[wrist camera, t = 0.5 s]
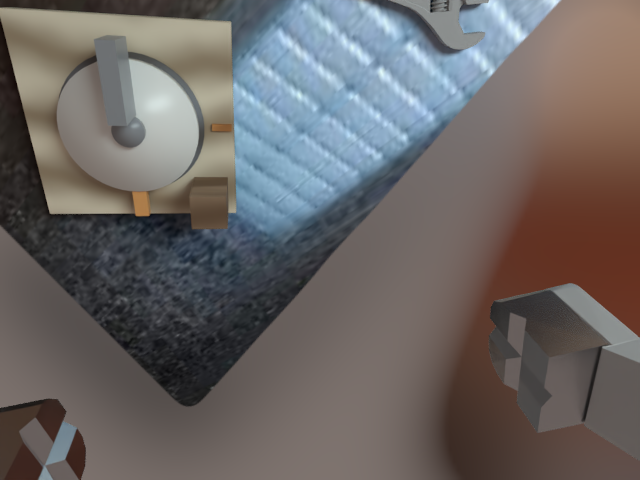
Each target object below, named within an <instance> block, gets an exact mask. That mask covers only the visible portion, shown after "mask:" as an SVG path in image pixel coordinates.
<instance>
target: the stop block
mask: <svg viewBox="0 0 640 480" xmlns="http://www.w3.org/2000/svg"><path fill="white" fill-rule="evenodd" d="M189 199H190V211H191V224H192V229H227V227H228V211H229V198H228V177H194V181H193V185H192V189H191V192H190V196H189Z"/></svg>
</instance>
